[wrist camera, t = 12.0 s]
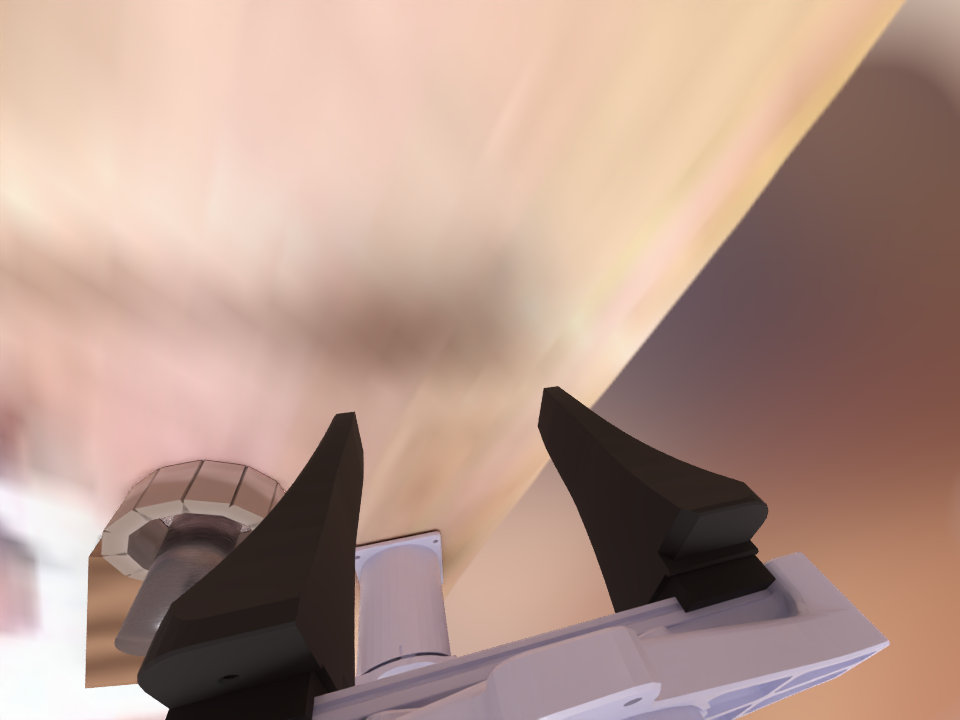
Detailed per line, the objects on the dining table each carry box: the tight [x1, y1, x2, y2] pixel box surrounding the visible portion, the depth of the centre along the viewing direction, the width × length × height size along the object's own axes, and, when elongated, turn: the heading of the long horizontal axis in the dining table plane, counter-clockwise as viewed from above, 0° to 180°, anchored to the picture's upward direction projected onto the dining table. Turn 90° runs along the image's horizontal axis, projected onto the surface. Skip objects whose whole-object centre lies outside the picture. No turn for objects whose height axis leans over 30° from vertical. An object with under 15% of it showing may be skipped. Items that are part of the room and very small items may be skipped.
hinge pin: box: [114, 513, 242, 656], centre depth 22 cm, size 4×4×8 cm
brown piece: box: [85, 460, 285, 688], centre depth 28 cm, size 29×12×3 cm, turn 153°
